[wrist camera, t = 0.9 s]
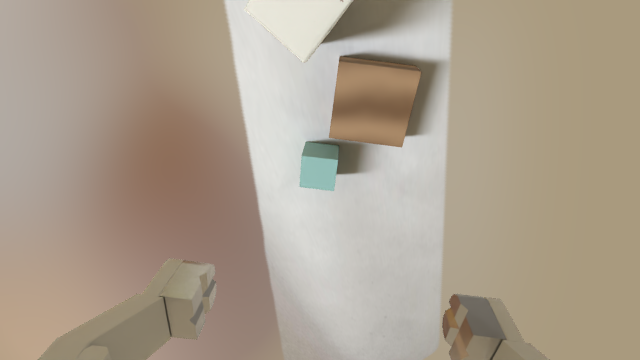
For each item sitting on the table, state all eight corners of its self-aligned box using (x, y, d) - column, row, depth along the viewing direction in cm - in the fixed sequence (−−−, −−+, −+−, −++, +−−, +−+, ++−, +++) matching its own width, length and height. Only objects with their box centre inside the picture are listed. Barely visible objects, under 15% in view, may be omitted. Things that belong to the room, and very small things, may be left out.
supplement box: (307, -52, 37) (291, -72, 26) (355, -3, 39) (358, -2, 28) (270, 5, 40) (240, 8, 29) (316, 47, 42) (305, 65, 31)
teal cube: (305, 141, 49) (301, 155, 44) (338, 145, 49) (338, 160, 44) (303, 170, 51) (299, 186, 47) (335, 174, 51) (333, 191, 47)
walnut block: (339, 55, 42) (339, 61, 39) (415, 65, 42) (421, 71, 39) (330, 127, 47) (329, 137, 44) (398, 136, 47) (401, 147, 44)
